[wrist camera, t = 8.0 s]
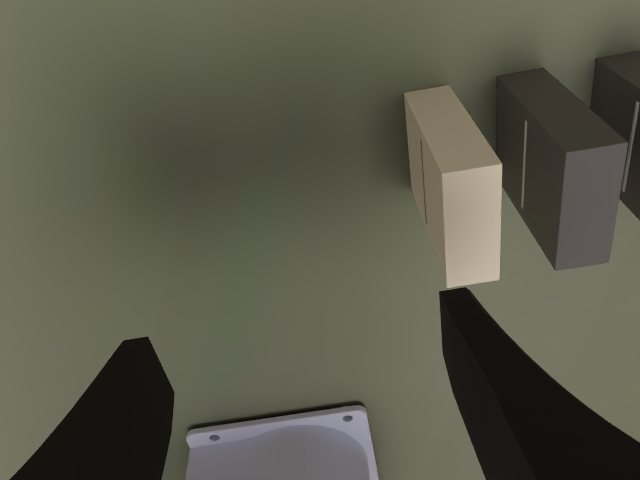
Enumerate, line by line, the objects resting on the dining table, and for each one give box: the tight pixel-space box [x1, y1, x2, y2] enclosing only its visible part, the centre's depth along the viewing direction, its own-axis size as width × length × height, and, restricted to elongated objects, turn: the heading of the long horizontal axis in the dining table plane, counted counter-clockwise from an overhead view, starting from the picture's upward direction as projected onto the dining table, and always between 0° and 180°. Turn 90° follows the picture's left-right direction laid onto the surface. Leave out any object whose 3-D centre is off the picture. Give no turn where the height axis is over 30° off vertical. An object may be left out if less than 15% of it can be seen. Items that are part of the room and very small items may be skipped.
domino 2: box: [496, 68, 628, 271], centre depth 18 cm, size 2×4×6 cm, turn 10°
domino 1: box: [404, 85, 502, 288], centre depth 19 cm, size 2×4×6 cm, turn 9°
